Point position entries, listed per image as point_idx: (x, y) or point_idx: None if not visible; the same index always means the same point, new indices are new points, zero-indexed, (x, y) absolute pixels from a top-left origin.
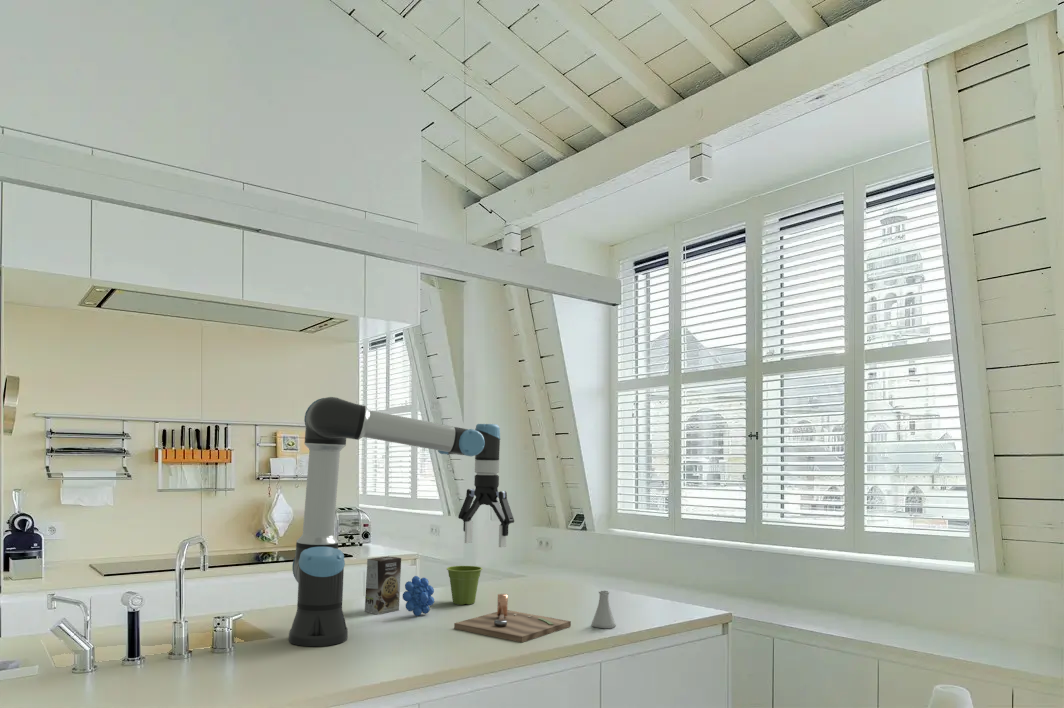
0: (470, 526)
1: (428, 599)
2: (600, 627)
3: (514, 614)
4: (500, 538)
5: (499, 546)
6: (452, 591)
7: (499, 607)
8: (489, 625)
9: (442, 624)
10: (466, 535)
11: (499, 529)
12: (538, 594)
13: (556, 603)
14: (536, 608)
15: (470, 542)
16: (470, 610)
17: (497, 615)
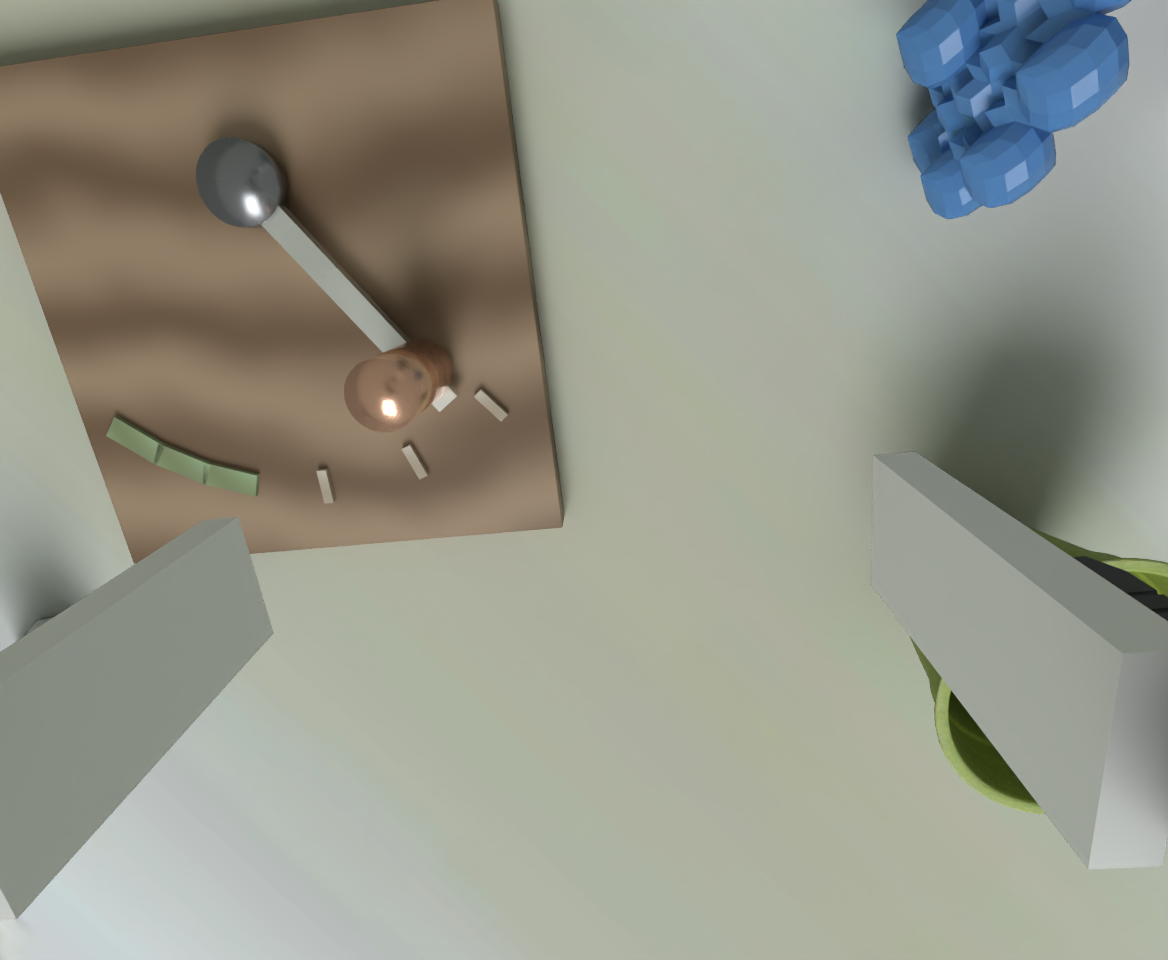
0: (1015, 702)
1: (943, 125)
2: (43, 620)
3: (412, 455)
4: (119, 579)
5: (216, 521)
6: (1037, 531)
7: (399, 346)
8: (299, 136)
9: (639, 32)
10: (935, 499)
11: (7, 670)
12: (775, 947)
13: (571, 861)
14: (559, 728)
15: (872, 551)
16: (785, 456)
17: (433, 342)
